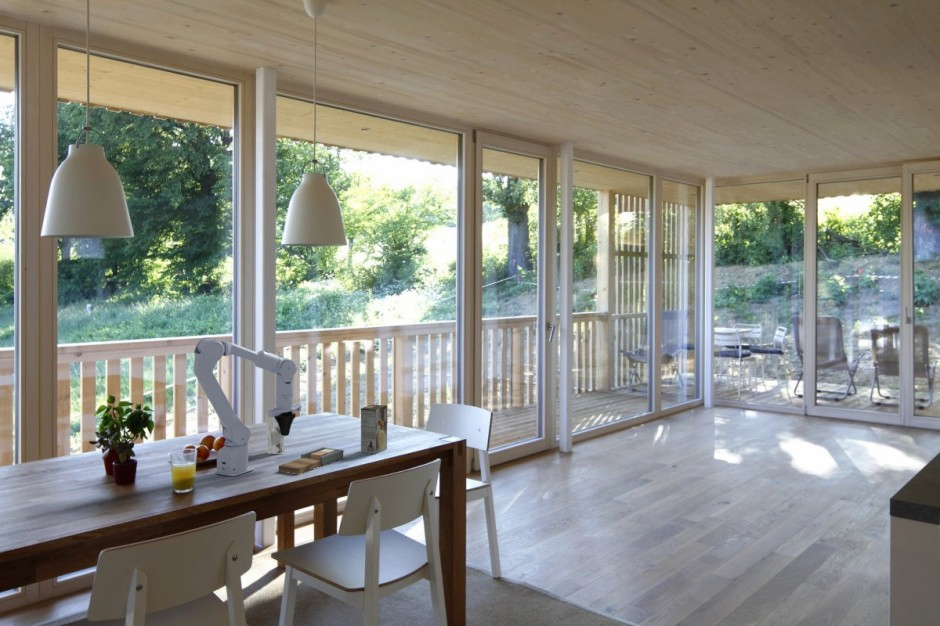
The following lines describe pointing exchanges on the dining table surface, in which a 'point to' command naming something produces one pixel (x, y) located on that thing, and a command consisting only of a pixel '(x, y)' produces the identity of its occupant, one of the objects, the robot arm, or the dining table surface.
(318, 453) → the tile terracotta
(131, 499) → the dining table surface
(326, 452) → the tile cream
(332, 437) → the dining table surface
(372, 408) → the coffee box
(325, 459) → the tray
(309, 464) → the board
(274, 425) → the beer glass
